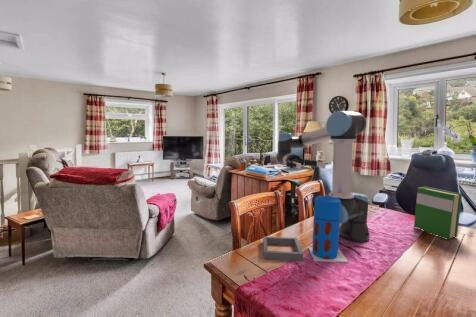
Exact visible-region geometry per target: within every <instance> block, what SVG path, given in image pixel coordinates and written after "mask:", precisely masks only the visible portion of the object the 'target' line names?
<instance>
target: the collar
mask: <svg viewBox="0 0 476 317" xmlns="http://www.w3.org/2000/svg"><path fill="white" fill-rule="evenodd" d="M262 238H263V239H262V246H263V259H264V260H282V261H284V260H285V261H299V260H301V262H303V261H304V252H303V250H302V246H301V244H300V242H299V240H298V237H285V236H263V237H262ZM268 245H287V246H294V248H295V251H281V250H280V251H279V250H268Z"/></svg>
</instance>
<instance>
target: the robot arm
mask: <svg viewBox="0 0 476 317" xmlns="http://www.w3.org/2000/svg"><path fill="white" fill-rule="evenodd" d="M326 120H327V121H326V123H325V127H324V126H323V127H321V128H318V129H316V130H315V129H314V130H312V131H309V132H307V133H306V132H305V133H303V134H300V135H293V134H292V132H280V133H279V135H278V152H277V153H276V155H275V161H276V163H278V164H280V165H281V166H282V165H283V166H286V168H289V169H298V170H302V166H304V167H306V166H310V167H311V166H312V167H317V168H321V169H326V162H323V161H322V160H320V159H318V160H314V159H305V158H301V157H300V156H299V155H297V154H293V153H292V149H303V148H307V147H309V146H311V145H314V144H319V143H322V142H323V143H324V142H326V141H329V140H331V141H332V143H333V149H332V151H333V154H332V158H333V159H332V179H331V180H332V184H331V185H332V186H331V188H332V189H331V192H329V193H328V196H329V197H335V198H338V199H340V200H341V211H340V227H339V237H341V238H343V239H344V240H347V241H350V242H351V241H352V242H358V243H359V242H361V243H363V242H368V241H369V240H370V237H371V236H370V231H369V227H368V212H369V204H370V202H369V196H368V195H366V194H363V193H359V192H352V176H353V175H352V174H353V171H352V169H353V152H354V151H353V150H354V149H353V144H354V142H356V141H357V136H358V135H361V134H362V133H363V132H364V131H365V130H366V128H367V119H366V117H365V115H363V114H362V113H360V112H357V111H350V110H338V111H334V112H332V114H330V115H329V117H328V118H327V119H326Z"/></svg>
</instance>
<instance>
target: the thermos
mask: <svg viewBox="0 0 476 317" xmlns="http://www.w3.org/2000/svg"><path fill="white" fill-rule="evenodd" d="M313 206H314V208H313V209H314V210H313V224H312V225H313V228H312V229H313V230H312V247H313V254H314V255H315V256H317V257H319V258H322V259H335V258H336V257H337V253H338V248H339V240H340V236H339V227H340V225H341V224H340V211H341V200H340V199H338V198H335V197H329V195H321V196H320V195H319V196H316V197H315V198H314V205H313Z"/></svg>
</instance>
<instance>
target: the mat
mask: <svg viewBox="0 0 476 317" xmlns="http://www.w3.org/2000/svg"><path fill="white" fill-rule="evenodd" d="M308 250H309V252H310V255H311V257H312V259H313V261H314V262H329V263H344V264H345V263H349V260H348V259H347V258H346V256H345V255H344V253H343V252H342V251H341V249H340V248H339V247H338V253H337V257H336V258H335V259H322V258H319V257H317V256H315V255H314V254H313V246H308Z"/></svg>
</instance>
